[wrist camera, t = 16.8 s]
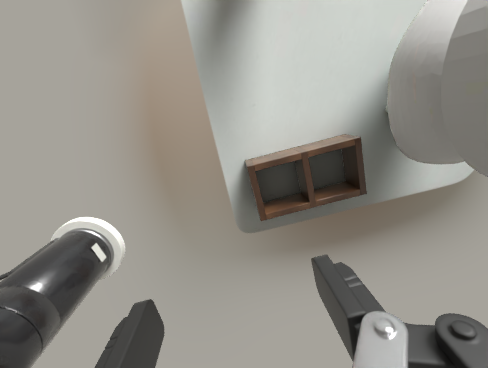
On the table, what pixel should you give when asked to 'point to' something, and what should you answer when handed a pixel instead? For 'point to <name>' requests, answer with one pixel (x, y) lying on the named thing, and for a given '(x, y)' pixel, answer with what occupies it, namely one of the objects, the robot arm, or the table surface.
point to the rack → (309, 195)
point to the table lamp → (442, 85)
